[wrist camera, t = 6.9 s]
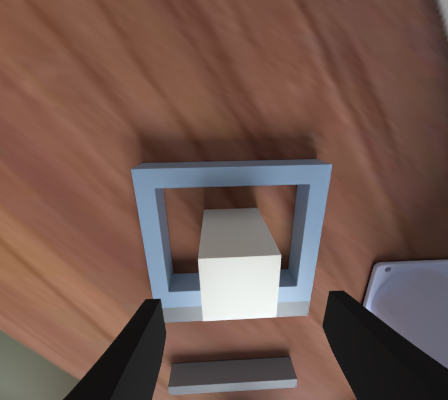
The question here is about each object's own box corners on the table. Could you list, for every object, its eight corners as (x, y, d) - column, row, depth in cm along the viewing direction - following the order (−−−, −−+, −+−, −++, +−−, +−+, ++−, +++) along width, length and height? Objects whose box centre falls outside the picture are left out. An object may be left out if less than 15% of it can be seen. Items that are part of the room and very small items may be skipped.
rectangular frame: (317, 158, 15) (332, 164, 13) (288, 364, 22) (296, 387, 20) (142, 163, 14) (130, 169, 12) (173, 371, 22) (169, 395, 20)
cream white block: (257, 207, 16) (281, 254, 10) (256, 253, 17) (276, 316, 11) (204, 209, 16) (198, 258, 10) (206, 255, 17) (202, 321, 11)
